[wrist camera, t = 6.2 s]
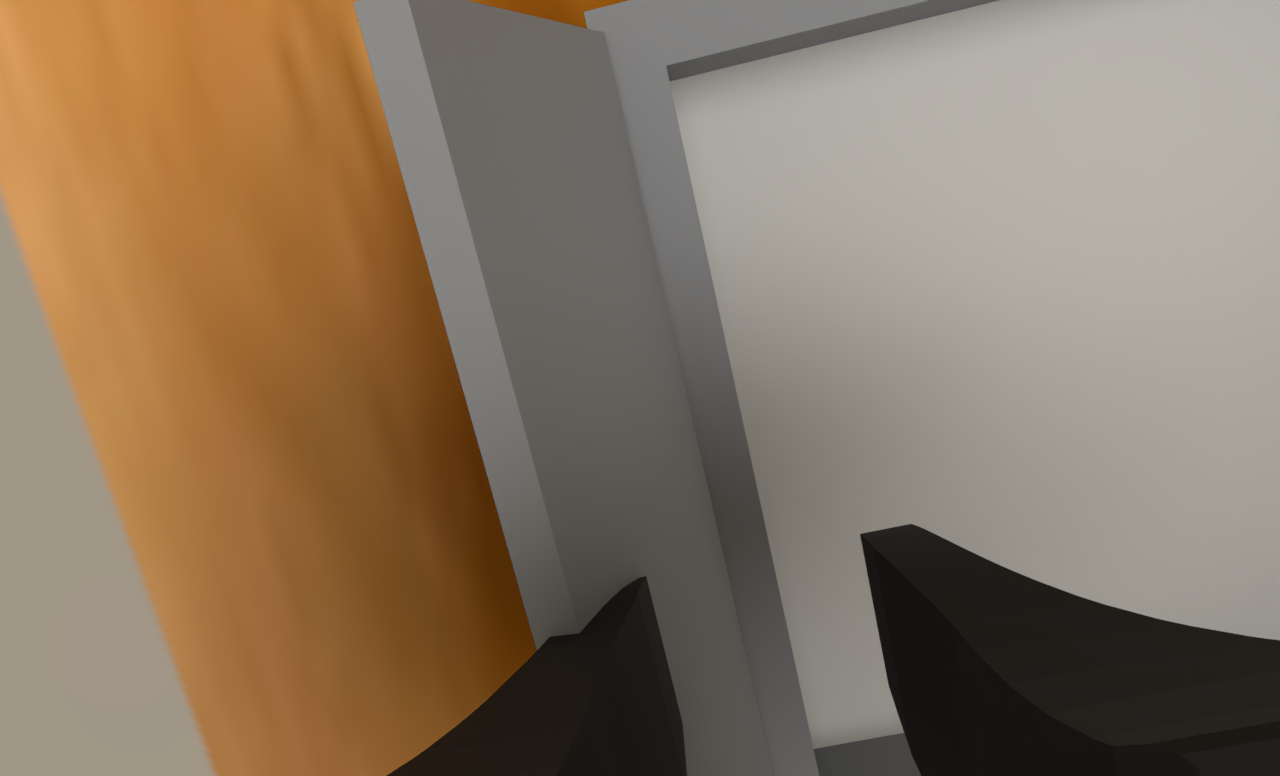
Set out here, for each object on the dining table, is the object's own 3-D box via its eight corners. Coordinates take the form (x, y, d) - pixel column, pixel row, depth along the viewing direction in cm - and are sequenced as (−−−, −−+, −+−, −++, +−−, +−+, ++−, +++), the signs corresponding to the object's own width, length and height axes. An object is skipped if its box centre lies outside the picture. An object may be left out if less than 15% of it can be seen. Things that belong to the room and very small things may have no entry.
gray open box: (1393, -157, 17) (1610, -251, 13) (1431, 663, 20) (1609, 785, 16) (604, 41, 18) (583, 12, 14) (773, 779, 21) (793, 918, 18)
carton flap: (405, -15, 8) (352, 2, 8) (764, 1316, 11) (723, 1310, 12) (603, 32, 14) (571, 42, 14) (806, 917, 17) (778, 916, 17)
